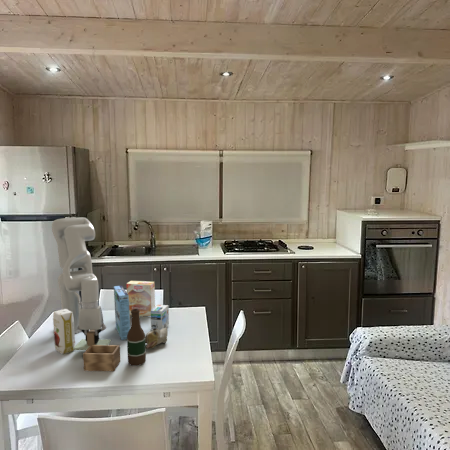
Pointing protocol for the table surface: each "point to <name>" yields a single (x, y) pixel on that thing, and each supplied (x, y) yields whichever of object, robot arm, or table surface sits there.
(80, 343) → the lid
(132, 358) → the beer bottle
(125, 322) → the gum box
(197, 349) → the table surface
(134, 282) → the coffeecake box
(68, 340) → the juice carton
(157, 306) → the light bulb box
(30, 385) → the table surface
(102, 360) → the crate
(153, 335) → the ceramic sculpture
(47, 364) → the table surface
